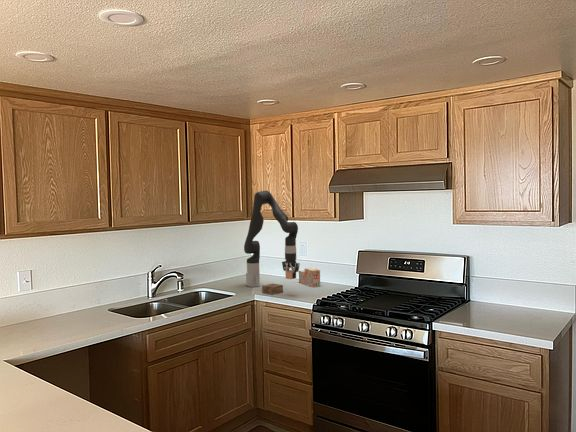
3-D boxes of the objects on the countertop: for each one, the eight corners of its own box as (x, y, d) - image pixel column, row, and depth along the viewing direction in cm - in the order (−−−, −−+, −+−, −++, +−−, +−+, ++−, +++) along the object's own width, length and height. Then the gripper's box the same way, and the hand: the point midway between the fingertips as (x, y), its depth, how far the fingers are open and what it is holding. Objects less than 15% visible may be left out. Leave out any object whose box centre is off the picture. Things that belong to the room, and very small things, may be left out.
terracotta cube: (285, 278, 322) (285, 271, 322) (290, 277, 326) (290, 270, 325) (291, 279, 319) (291, 271, 318) (296, 278, 322) (296, 270, 322)
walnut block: (262, 292, 332) (262, 285, 332) (272, 290, 339) (272, 283, 339) (272, 294, 325) (272, 287, 325) (283, 292, 333) (282, 285, 332)
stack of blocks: (298, 282, 367) (298, 266, 367) (305, 282, 370) (305, 266, 370) (313, 287, 348) (312, 270, 348) (320, 286, 351) (320, 269, 351)
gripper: (278, 252, 323) (279, 277, 324) (295, 253, 314) (295, 279, 314) (286, 250, 329) (286, 275, 330) (302, 252, 319) (302, 278, 320)
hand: (290, 277), depth 322 cm, fingers closed on terracotta cube, 5 cm apart
